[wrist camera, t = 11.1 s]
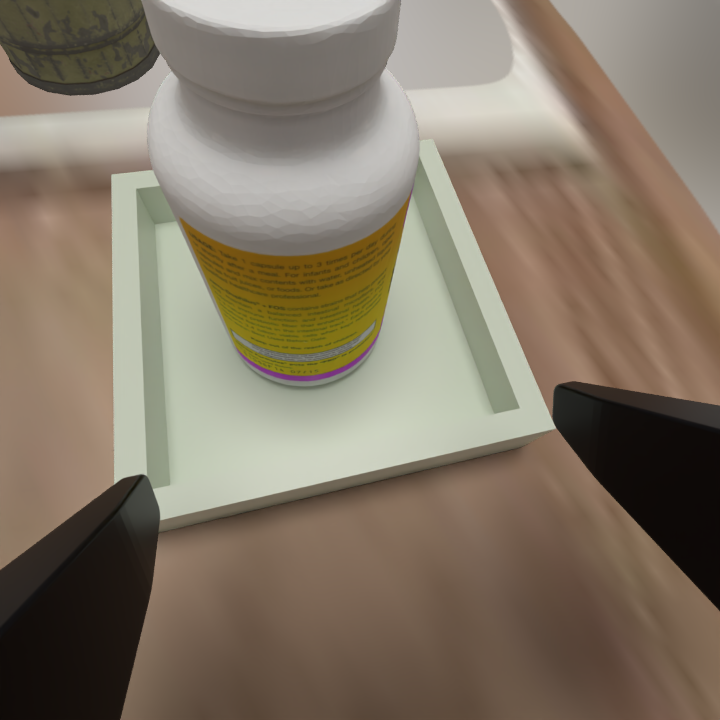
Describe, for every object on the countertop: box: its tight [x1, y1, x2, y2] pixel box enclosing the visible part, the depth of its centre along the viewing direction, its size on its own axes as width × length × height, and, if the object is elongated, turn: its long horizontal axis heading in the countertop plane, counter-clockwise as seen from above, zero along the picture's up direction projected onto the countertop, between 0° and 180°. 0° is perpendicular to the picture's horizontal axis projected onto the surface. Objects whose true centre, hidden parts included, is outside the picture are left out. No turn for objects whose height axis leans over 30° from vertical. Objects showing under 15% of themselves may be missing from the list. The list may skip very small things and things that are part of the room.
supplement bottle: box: [141, 0, 420, 386], centre depth 13 cm, size 7×7×13 cm
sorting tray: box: [112, 139, 556, 533], centre depth 18 cm, size 15×15×3 cm
